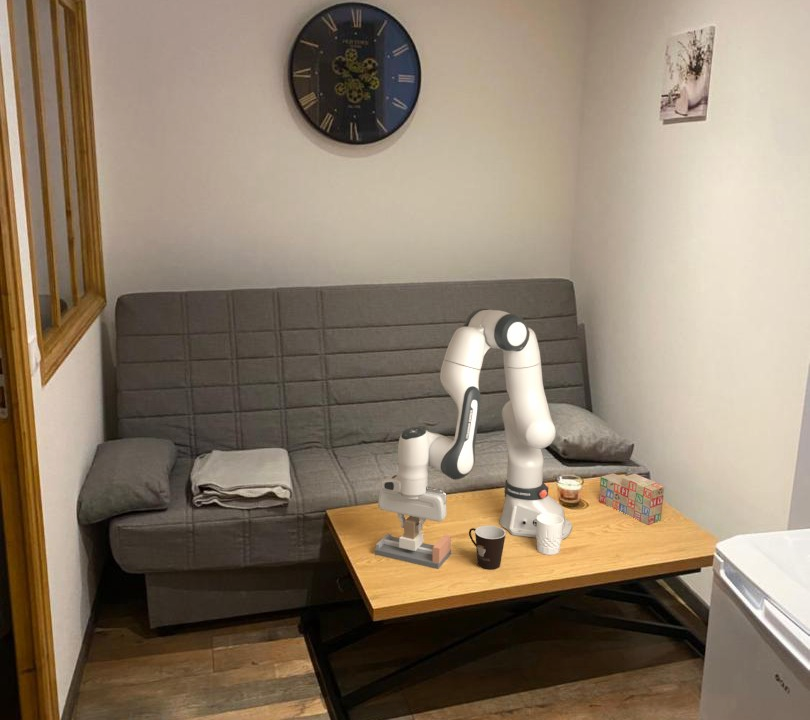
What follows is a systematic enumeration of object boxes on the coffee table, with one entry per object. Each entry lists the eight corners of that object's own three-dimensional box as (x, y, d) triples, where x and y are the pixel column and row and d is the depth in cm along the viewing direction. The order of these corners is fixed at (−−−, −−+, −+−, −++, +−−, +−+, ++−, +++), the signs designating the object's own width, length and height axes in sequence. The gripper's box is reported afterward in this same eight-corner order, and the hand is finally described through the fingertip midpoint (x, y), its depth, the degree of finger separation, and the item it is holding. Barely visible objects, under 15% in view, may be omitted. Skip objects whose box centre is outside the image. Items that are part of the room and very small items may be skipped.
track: (451, 553, 238) (451, 535, 236) (438, 569, 229) (438, 549, 227) (388, 540, 246) (389, 521, 244) (374, 554, 237) (374, 535, 235)
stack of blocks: (598, 502, 276) (600, 468, 273) (611, 498, 279) (613, 464, 276) (648, 525, 259) (651, 489, 256) (661, 521, 262) (664, 485, 259)
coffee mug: (509, 569, 229) (510, 537, 227) (480, 573, 227) (481, 540, 224) (493, 550, 240) (494, 519, 238) (465, 554, 238) (466, 522, 235)
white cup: (532, 553, 239) (534, 521, 237) (537, 542, 246) (539, 511, 244) (559, 558, 236) (561, 526, 234) (563, 546, 244) (566, 515, 241)
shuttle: (423, 542, 239) (423, 517, 237) (415, 551, 233) (415, 525, 231) (407, 539, 240) (408, 513, 239) (399, 547, 235) (399, 521, 233)
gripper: (450, 486, 231) (449, 531, 234) (385, 474, 239) (385, 517, 242) (442, 494, 225) (441, 540, 229) (376, 481, 233) (375, 526, 237)
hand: (411, 528), depth 236 cm, fingers closed on shuttle, 3 cm apart
